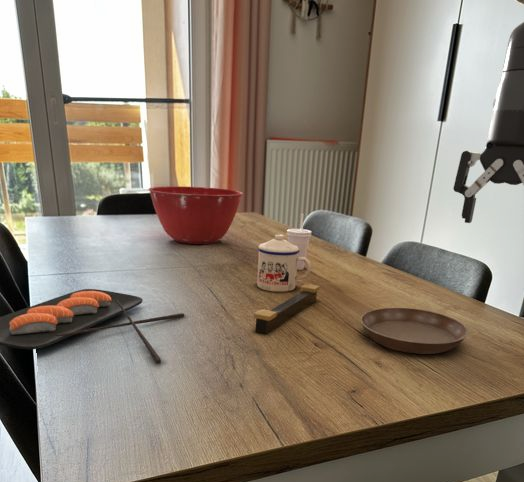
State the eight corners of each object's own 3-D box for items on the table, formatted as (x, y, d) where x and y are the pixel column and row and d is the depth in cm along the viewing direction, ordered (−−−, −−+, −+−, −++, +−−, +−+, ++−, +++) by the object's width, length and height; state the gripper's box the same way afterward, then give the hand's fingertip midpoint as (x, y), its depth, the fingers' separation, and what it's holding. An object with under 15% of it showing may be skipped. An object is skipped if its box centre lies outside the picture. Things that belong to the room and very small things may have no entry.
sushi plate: (86, 296, 102) (85, 277, 101) (223, 321, 92) (224, 300, 91) (-42, 344, 77) (-46, 319, 75) (128, 384, 67) (127, 357, 66)
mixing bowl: (161, 230, 176) (160, 183, 170) (243, 235, 176) (245, 188, 170) (139, 246, 150) (137, 191, 144) (237, 251, 150) (238, 196, 144)
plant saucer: (383, 361, 79) (386, 343, 78) (344, 323, 95) (346, 307, 94) (486, 358, 82) (490, 340, 81) (431, 321, 98) (434, 306, 97)
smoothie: (301, 272, 130) (306, 215, 125) (279, 268, 133) (283, 212, 128) (312, 267, 135) (317, 213, 130) (291, 264, 138) (295, 210, 133)
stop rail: (318, 301, 107) (319, 285, 106) (268, 335, 87) (269, 316, 86) (305, 298, 108) (306, 283, 107) (252, 331, 88) (253, 313, 87)
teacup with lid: (251, 289, 113) (253, 236, 108) (261, 280, 121) (264, 230, 116) (305, 296, 110) (309, 241, 106) (312, 286, 118) (316, 235, 114)
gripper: (580, 111, 72) (550, 228, 78) (474, 110, 79) (454, 218, 85) (578, 107, 66) (546, 234, 72) (464, 106, 73) (443, 222, 79)
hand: (496, 225), depth 79 cm, fingers open, 8 cm apart
